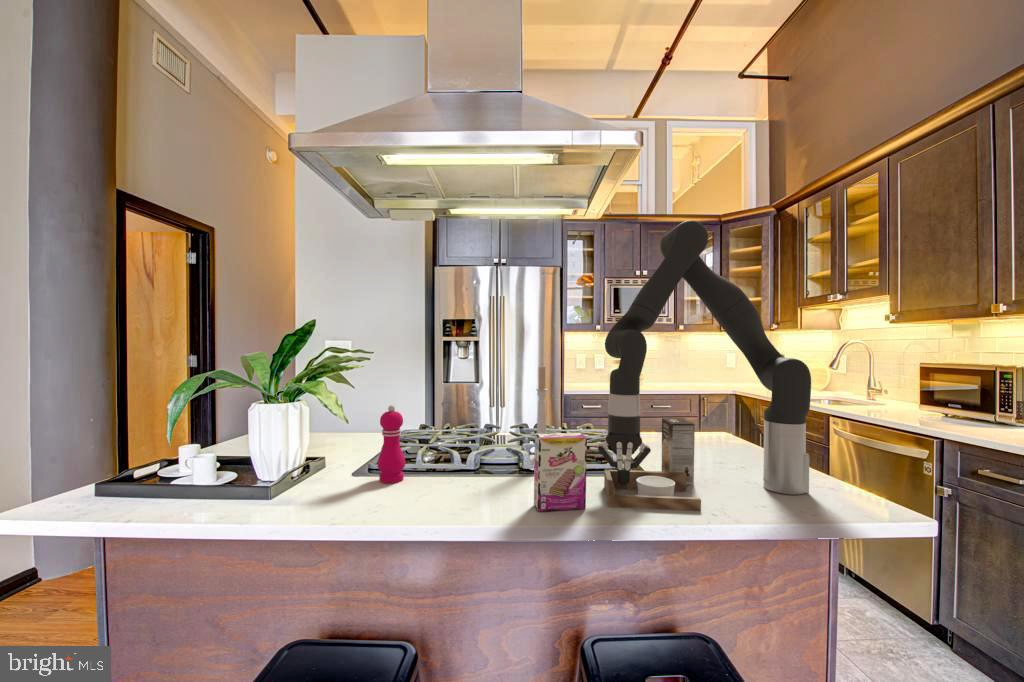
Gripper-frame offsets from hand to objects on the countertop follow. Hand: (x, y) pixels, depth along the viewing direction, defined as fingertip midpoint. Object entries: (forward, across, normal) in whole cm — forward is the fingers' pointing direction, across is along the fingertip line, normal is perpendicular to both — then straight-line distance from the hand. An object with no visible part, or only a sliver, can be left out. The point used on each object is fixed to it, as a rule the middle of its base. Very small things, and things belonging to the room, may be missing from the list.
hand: (623, 484), depth 116 cm
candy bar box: (+3, +15, +9) cm, 18 cm away
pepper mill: (+4, +60, -6) cm, 60 cm away
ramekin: (+3, -8, 0) cm, 8 cm away
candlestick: (+3, +21, -25) cm, 33 cm away
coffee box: (+3, -16, -16) cm, 23 cm away
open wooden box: (+3, -6, 0) cm, 7 cm away
